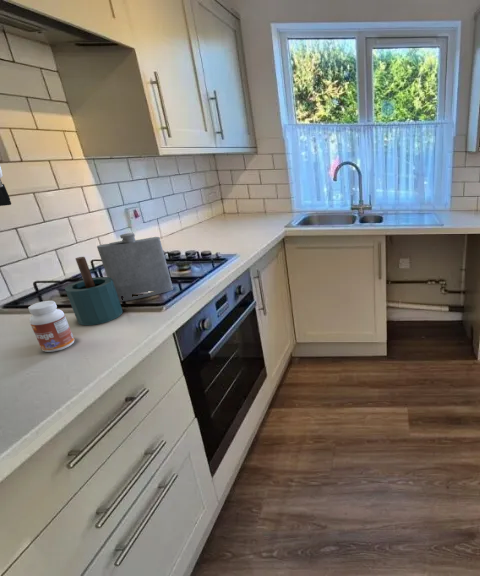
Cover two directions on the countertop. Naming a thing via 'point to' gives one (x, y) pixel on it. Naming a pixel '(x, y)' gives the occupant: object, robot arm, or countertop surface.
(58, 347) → the pill bottle
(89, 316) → the jar
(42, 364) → the countertop surface
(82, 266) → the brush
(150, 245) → the hip flask
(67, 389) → the countertop surface
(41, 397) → the countertop surface
